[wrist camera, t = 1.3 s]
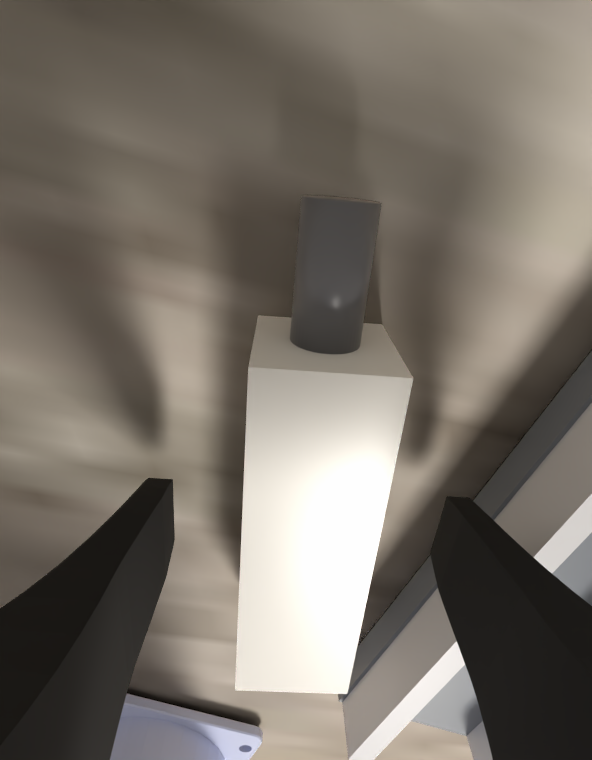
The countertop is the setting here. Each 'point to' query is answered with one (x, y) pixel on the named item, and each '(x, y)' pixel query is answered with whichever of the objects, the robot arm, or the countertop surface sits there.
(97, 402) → the countertop surface
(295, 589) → the white box with cylinder
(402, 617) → the grey tray
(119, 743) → the robot arm
